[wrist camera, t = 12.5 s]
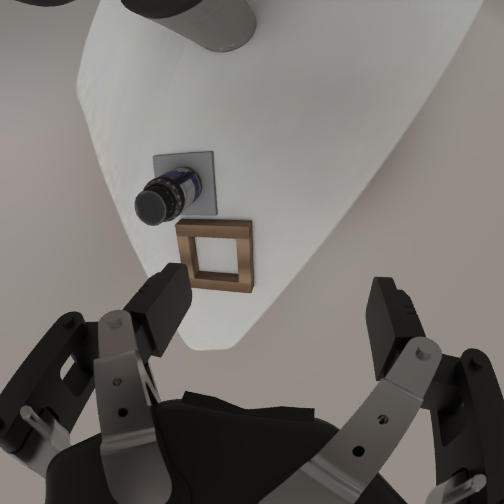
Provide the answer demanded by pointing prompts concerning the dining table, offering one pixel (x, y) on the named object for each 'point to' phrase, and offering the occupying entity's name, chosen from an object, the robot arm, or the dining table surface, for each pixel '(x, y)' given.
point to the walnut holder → (217, 229)
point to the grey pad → (203, 168)
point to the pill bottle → (168, 196)
